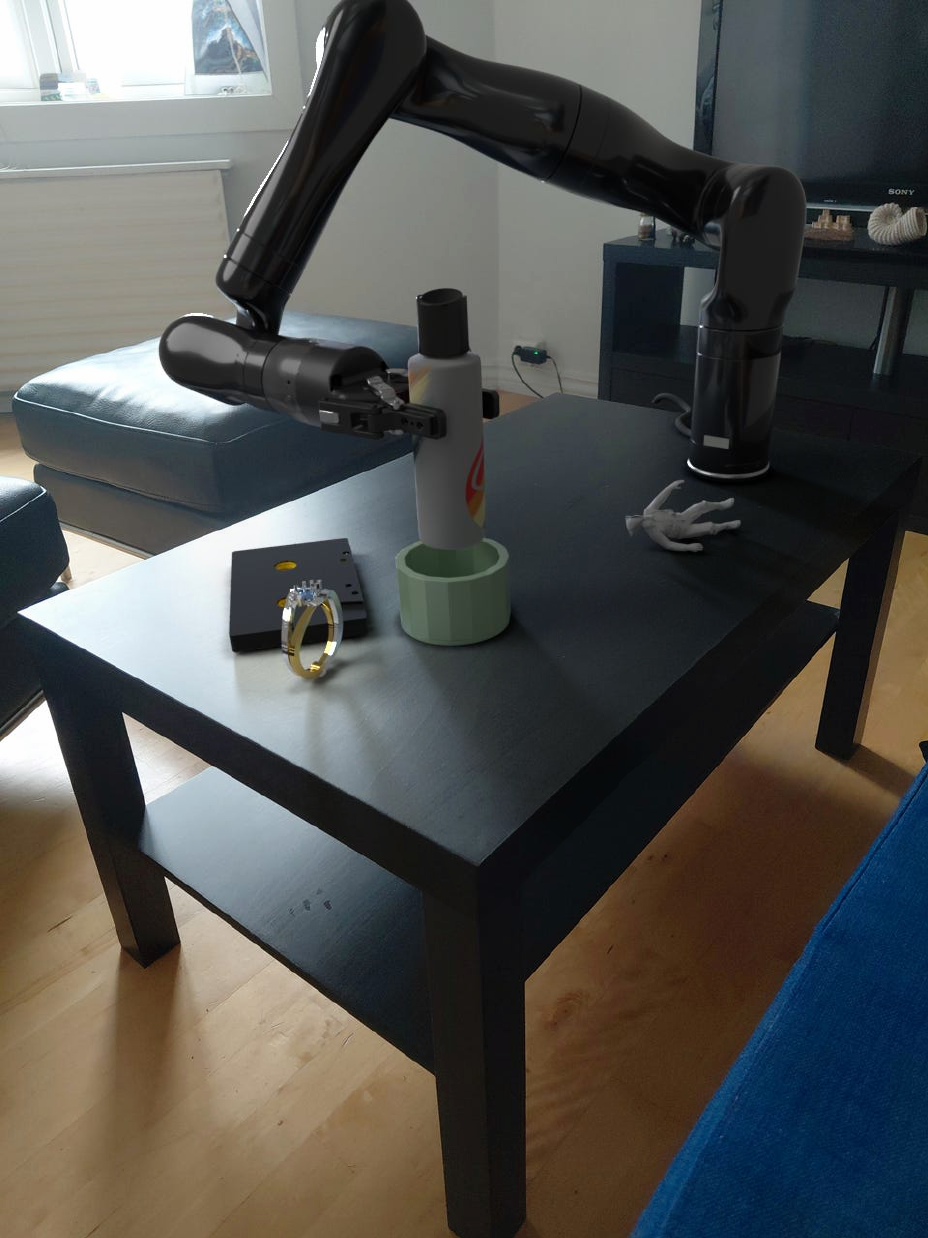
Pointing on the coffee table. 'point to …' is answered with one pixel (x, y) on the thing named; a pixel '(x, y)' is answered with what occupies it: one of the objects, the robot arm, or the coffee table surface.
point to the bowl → (454, 592)
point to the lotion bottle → (448, 424)
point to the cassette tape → (273, 575)
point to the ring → (293, 642)
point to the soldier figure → (678, 521)
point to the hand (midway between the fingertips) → (470, 415)
